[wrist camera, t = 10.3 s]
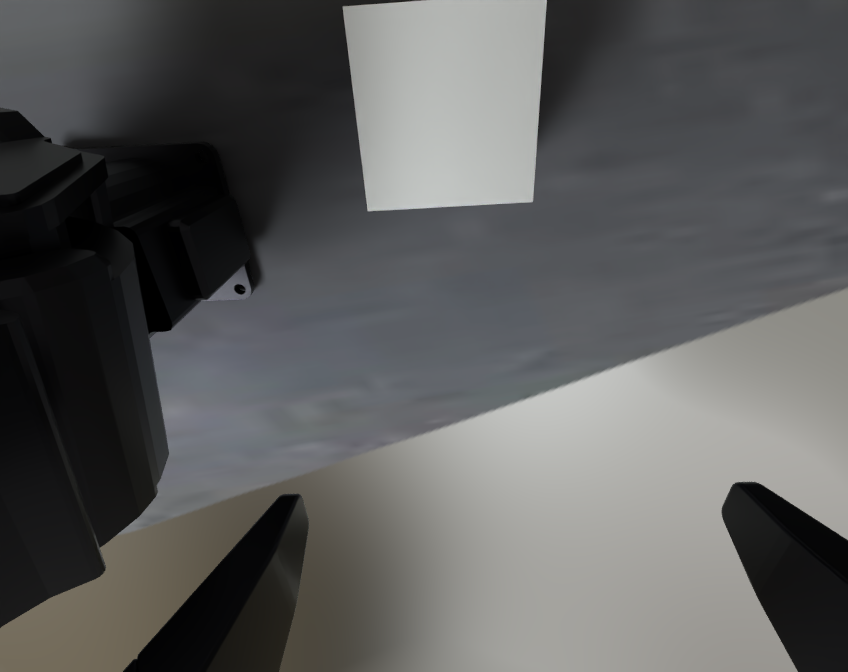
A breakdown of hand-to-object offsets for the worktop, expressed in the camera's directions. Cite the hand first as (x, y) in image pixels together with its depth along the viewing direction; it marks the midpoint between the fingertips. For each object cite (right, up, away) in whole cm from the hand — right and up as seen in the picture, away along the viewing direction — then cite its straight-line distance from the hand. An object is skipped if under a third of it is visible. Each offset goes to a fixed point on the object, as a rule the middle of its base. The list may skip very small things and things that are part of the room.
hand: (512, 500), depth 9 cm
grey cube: (-1, +12, +7) cm, 14 cm away
